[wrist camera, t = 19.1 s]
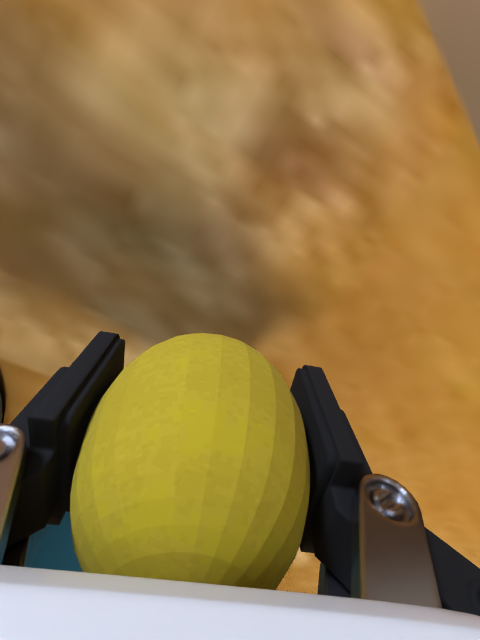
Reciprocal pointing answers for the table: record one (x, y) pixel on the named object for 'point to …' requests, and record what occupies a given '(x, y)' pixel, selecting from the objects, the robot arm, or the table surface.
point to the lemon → (193, 469)
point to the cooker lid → (0, 409)
